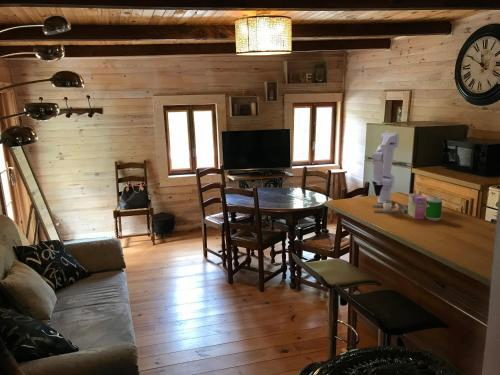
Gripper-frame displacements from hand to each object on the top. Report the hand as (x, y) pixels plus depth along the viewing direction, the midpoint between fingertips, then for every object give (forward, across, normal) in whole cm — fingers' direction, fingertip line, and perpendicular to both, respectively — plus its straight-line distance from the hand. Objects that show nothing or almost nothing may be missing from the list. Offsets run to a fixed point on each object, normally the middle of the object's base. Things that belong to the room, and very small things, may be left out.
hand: (377, 194), depth 247 cm
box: (+9, +15, +20) cm, 27 cm away
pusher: (+8, +4, +11) cm, 15 cm away
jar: (+8, +4, +6) cm, 11 cm away
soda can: (+9, +20, +28) cm, 35 cm away
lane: (+8, +4, +7) cm, 12 cm away
